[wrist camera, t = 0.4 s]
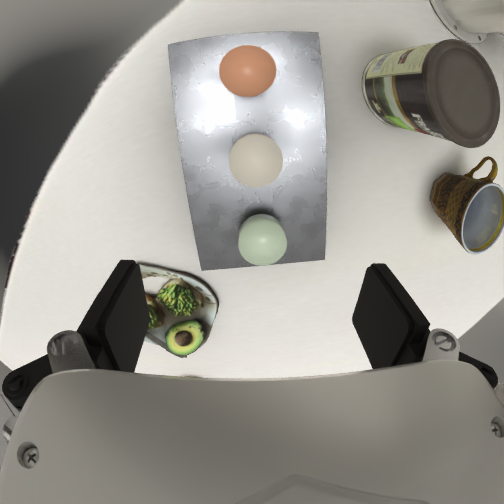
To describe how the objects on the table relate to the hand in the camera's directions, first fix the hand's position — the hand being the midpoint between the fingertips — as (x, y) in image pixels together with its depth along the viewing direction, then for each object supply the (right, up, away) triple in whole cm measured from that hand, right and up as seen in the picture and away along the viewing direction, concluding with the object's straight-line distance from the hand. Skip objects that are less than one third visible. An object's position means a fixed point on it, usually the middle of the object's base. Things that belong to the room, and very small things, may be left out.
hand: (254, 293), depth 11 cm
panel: (0, +14, +21) cm, 25 cm away
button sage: (+1, +5, +24) cm, 24 cm away
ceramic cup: (+29, +12, +23) cm, 39 cm away
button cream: (0, +13, +20) cm, 23 cm away
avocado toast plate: (-14, -8, +33) cm, 37 cm away
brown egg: (-1, +21, +15) cm, 26 cm away
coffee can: (+18, +22, +17) cm, 33 cm away
